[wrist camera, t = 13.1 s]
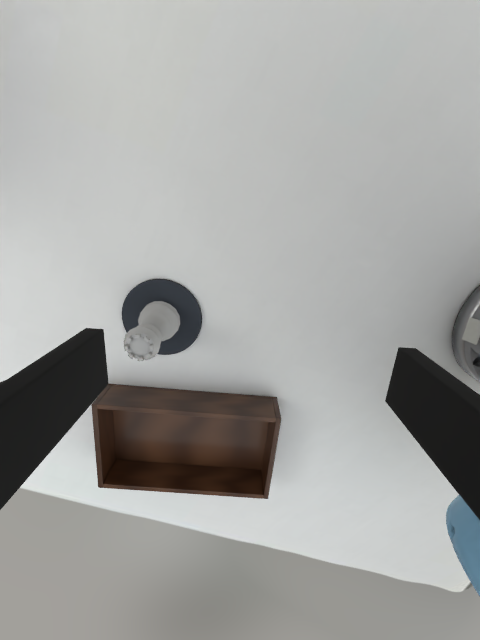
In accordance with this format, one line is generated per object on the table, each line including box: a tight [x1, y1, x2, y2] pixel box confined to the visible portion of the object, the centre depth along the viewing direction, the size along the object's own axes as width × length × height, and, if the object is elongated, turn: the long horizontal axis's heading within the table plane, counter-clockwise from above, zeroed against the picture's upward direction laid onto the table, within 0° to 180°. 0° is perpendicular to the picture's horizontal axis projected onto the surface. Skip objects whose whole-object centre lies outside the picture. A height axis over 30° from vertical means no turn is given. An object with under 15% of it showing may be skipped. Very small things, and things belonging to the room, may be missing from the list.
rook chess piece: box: [124, 301, 180, 361], centre depth 29 cm, size 4×4×8 cm
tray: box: [92, 384, 281, 499], centre depth 37 cm, size 21×12×4 cm, turn 85°
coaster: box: [122, 279, 202, 355], centre depth 33 cm, size 9×9×1 cm
